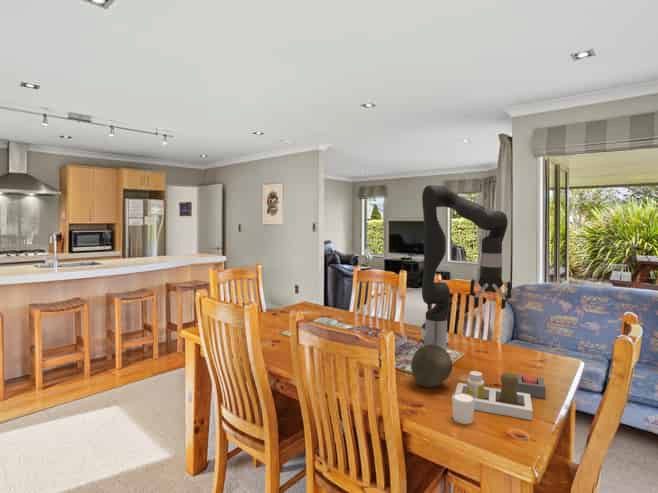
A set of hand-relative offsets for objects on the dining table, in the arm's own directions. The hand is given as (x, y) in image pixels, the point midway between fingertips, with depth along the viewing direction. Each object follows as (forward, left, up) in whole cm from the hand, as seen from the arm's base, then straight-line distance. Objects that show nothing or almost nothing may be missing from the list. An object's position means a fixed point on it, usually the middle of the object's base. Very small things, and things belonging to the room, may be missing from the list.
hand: (489, 308), depth 149 cm
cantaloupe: (-19, -13, -28) cm, 36 cm away
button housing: (+14, -4, -28) cm, 32 cm away
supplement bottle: (-3, -20, -28) cm, 35 cm away
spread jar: (-25, +39, -28) cm, 54 cm away
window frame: (+2, -20, -28) cm, 34 cm away
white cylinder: (-6, -34, -28) cm, 45 cm away
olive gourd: (+7, -20, -28) cm, 35 cm away
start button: (+14, -4, -26) cm, 30 cm away
